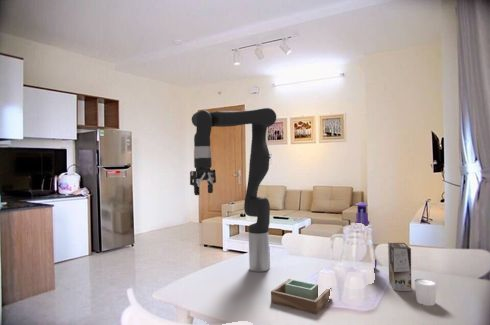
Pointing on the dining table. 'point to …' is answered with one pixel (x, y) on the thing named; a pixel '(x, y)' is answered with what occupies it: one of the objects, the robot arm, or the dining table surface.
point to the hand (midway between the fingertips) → (203, 194)
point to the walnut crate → (299, 300)
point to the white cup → (426, 291)
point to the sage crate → (302, 289)
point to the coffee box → (399, 266)
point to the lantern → (362, 216)
